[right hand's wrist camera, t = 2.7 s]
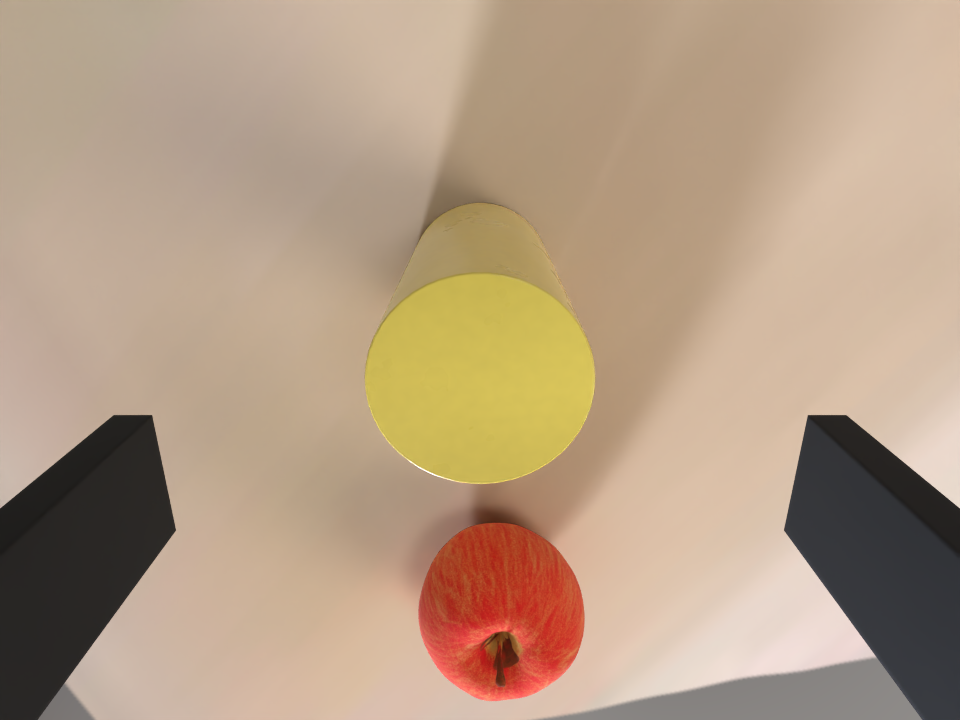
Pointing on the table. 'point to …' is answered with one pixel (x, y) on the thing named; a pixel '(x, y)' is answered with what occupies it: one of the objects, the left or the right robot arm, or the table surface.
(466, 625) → the apple
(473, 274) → the cylinder
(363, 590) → the table surface
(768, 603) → the table surface
